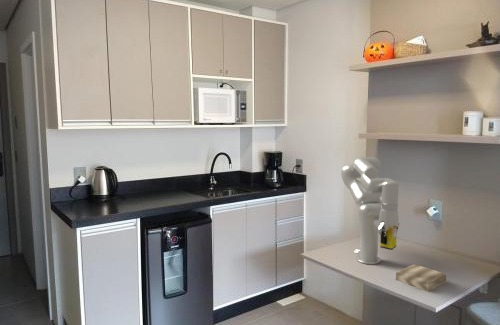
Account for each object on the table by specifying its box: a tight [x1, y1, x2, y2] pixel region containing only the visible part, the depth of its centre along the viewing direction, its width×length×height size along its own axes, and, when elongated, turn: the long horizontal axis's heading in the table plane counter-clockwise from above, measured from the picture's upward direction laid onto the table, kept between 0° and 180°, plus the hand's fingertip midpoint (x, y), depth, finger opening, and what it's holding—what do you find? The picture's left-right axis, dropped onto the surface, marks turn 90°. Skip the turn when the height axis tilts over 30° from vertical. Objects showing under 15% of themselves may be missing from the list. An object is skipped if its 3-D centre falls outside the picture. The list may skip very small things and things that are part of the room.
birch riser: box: [395, 264, 447, 292], centre depth 181 cm, size 16×16×4 cm
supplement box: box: [379, 226, 398, 251], centre depth 186 cm, size 6×6×11 cm
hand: (388, 241), depth 186 cm, fingers closed on supplement box, 6 cm apart
